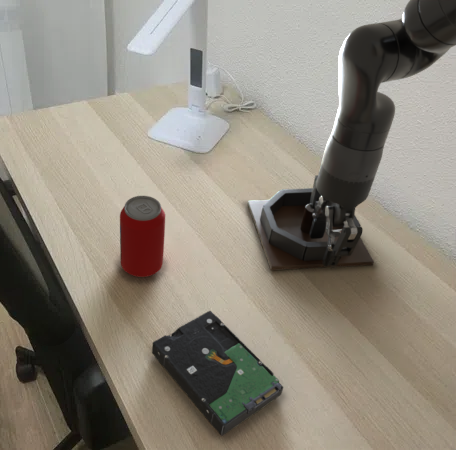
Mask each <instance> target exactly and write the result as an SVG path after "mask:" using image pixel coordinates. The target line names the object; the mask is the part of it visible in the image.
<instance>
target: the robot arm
mask: <svg viewBox="0 0 456 450" xmlns="http://www.w3.org/2000/svg"><path fill="white" fill-rule="evenodd" d="M455 46H456V0H408V2H407V4H406V5H405V7H404V9H403V13H402V16H401V17H400V18H399V19H395V20H389V21H388V20H387V21H381V22H375V23H369V24H363V25H360V26H358V27H356V28H355V29H353V30H352V31H350V33H349V34H348V35H347V36H346V38H345V39H344V41H343V43H342V46H341V47H340V49H339V55H338V108H337V111H336V112H337V113H336V116H335V120H334V124H333V126H332V131H331V132H330V133H331V134H330V135H329V137H328V140H327V142H326V145H325V149H324V152H323V156H322V159H321V162H320V167H319V170H318V174H317V175H315V176H314V179H313V185H312V188H313V189H312V194H311V199H310V208H311V209H314V211H313V213H312V217H313V223H312V226H311V230H310V233H309V235H310V238H311V239H319V238H322V237H323V236H324V233H326V234H327V235H328V247H327V249H326V252H325V255H324V258H323V261H322V264H323V266H324V267H323V268H335V266H337V264H338V262H339V259H340V256H351V254H352V253H353V251H354V249H355V247H356V245H357V243H358V241H359V239H360V238H361V237H362V235H363V227H362V225H361V226H358V227H355V224H354V222H353V219H354V216H356V208H357V207H358V206H359V205H361V204H362V203H364V202H365V201H366V200H367V198H369V195H370V192H371V189H372V186H373V184H374V181H375V178H376V175H377V172H378V170H379V167H380V164H381V161H382V158H383V153H384V149H385V148H384V147H385V144H386V142H387V138H388V136H389V133H390V130H391V128H392V125H393V122H394V119H395V114H396V104H395V102H394V101H393V99H392V98H391V97H390V96H388V95H386V94H384V93H383V92H380V91H379V88H380V86H381V84H383V83H389V82H393V81H399V80H404V79H408V78H411V77H413V76H416V75H417V74H419V73H421V72H422V73H423V71H425V70H427V69H428V68H430V67H431V66H433V65H434V64H435V63H436V62H437V61H438V60H439V59H441V58H442V57H444V55H445V54H446V53H448V52H449V50H451V48H453V47H455ZM317 197H320V198H319V201H316V199H317ZM342 226H344V227H343V229H340V230H332V227H342ZM325 230H326V231H325ZM335 237H338V240H337V242H336V243H334V239H335Z"/></svg>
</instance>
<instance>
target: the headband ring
mask: <svg viewBox="0 0 456 450" xmlns="http://www.w3.org/2000/svg"><path fill="white" fill-rule="evenodd" d="M312 189H313V187H310V188H309V187H308V188H305V187H304V188H285V189H284V188H283V189H282V188H281V189H279V190H278V191H277V192H276V193H275V194H274V195H273V196H272V197H270V198H269V199H267V200H268V201H267V202H266V203H265V204H264V205H263V207H262V212H261V217H260V221H261V224H262V226H263V229H264V232H265V234H266V237H267V240H268V242H269V243H270V244H271V245H273V246H275V247H277V248H279V249H281V250H283V251H285V252H287V253H289V254H291V255H292V256H294V257H296V258H298V259H300V260H304V261H309V260H323V258H324V255H325V252H326V249H327V247H328V241H327V242H305V241H303V240H301V239H299V238H297V237H295V236H293V235H291V234H289V233H287V232H285V231H283V230H281V229H279V228H278V227H277V224H276V222H275V219H274V217H273V214H274V213H275V212H276V211H278V210H279V209H280V208H281V207H282V206H300V205H307V204H310V199H311V194H312ZM319 198H320V197H317V199H316V201H319ZM353 222H354V224H355V227H358V226H361V227H362V225H361V223H360V221H359V219H358V217H357V216H356V215H355V216H354V219H353ZM343 227H344V226H343ZM336 242H337V241H334V243H336ZM340 258H342V256H340Z"/></svg>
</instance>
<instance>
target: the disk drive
mask: <svg viewBox="0 0 456 450" xmlns="http://www.w3.org/2000/svg"><path fill="white" fill-rule="evenodd" d="M151 348H152V349H151V353H152V355H153V356H154V357H155V359H156V360H157V362H158V363H160V365H161V366H162V367H163V368H164V370H165V371H166V372H167V374H168V375H169V376H170V377H171V378H172V379H173V380H174V381H175V383H176V384H177V386H179V387H180V389H181V390H182V391H183V392H184V393H185V394H186V395H187V397H188V398H189V399H190V401H191V402H192V404H194V406H195V407H196V408H197V410H199V412H200V413H201V414H202V415H203V416H204V417H205V419H206V420H207V421H208V423H210V425H211V426H212V427H213V428H214V429H215V430H216V431H217V433H218V434H219V435H220V436H222V437H223V436H225V435H226V434H227V433H229V432H230V431H232V430H234V429H235V428H236V427H239V426H240V425H241V424H242V423H244V422H245V421H246V420H248V419H249V418H251V417H252V416H253V415H255V414H256V413H258V412H260V411H261V410H262V409H263V408H265V407H266V406H268V405H269V404H270V403H272V402H273V401H275V400H276V399H277V398H278V397H279V398H280V397H281V395H282V393H283V389H284V386H283V385H282V384H281V383H280V380H279V378H278V377H276V376H275V375H274V372H273V371H272V370H271V369H270V368H269V367H268V366H267V365H266V364H264V362H262V361H261V359H260V358H259V357H257V355H256V354H255V353H254V352H253V351H252V350H251V349H250V348H249V347H248V346H247V345H246V344H245V343H244V342H243V341H242V340H240V338H239V337H238V336H237V335H236V334H235V333H234V332H233V331H232V330H231V329H230V328H229V327H228V326H227V325H225V323H224V322H223V321H222V320H221V319H220V318H219V317H218V316H217V315H216V314H215V313H213V312H212V310H208V311H207V312H205V313H202V314H201V315H199V316H198V317H196V318H194V319H192V320H190V321H188V322H186V323H185V324H183V325H181V326H179V327H178V328H177V329H176V330H175V331H174V332H172V333H171V335H170V334H169V335H163V336H161V337H159V338H158V339H156V340H154V341H153V342H152V347H151Z"/></svg>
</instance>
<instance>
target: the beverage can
mask: <svg viewBox="0 0 456 450" xmlns="http://www.w3.org/2000/svg"><path fill="white" fill-rule="evenodd" d="M165 231H166V213H165V211H164V209H163V207H162V205H161V202H159V200H157V199H156V198H155V197H152V196H149V195H136V196H133V197H130V198H128V200H127V201H125V203H124V206H123V207H122V209H121V210H120V213H119V251H120V253H119V254H120V265H121V268H122V269H123V270H124V272H126V273H128V275H130V276H133V277H137V278H145V277H151V276H153V275H155V274H157V273H158V272H159V271H160V270H161V269H162V268H163V263H164V250H165V236H166V235H165V234H166V232H165Z"/></svg>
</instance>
